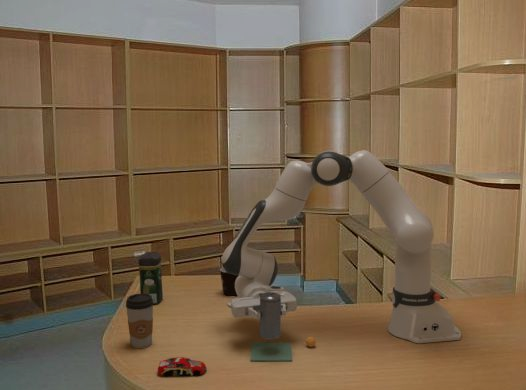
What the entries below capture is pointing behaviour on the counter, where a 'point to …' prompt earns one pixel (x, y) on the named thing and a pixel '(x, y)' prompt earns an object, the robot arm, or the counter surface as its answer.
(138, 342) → the coffee cup
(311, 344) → the ball
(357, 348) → the counter surface
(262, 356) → the mat
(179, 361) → the race car
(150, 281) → the coffee jar
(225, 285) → the coffee mug
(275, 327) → the canister
